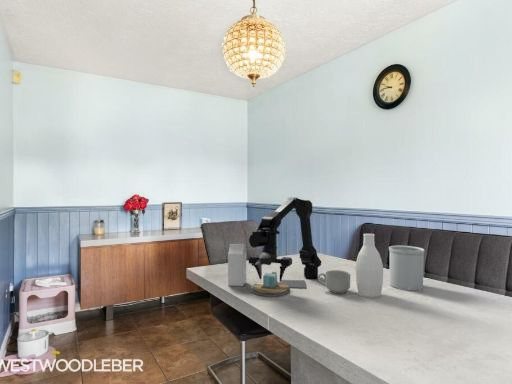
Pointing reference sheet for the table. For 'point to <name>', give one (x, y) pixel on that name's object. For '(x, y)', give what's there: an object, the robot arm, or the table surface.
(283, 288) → the turntable
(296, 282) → the mat
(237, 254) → the milk carton
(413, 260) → the utensil holder
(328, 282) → the teacup
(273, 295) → the turntable base
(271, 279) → the blue cube with post
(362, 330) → the table surface
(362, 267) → the bottle
